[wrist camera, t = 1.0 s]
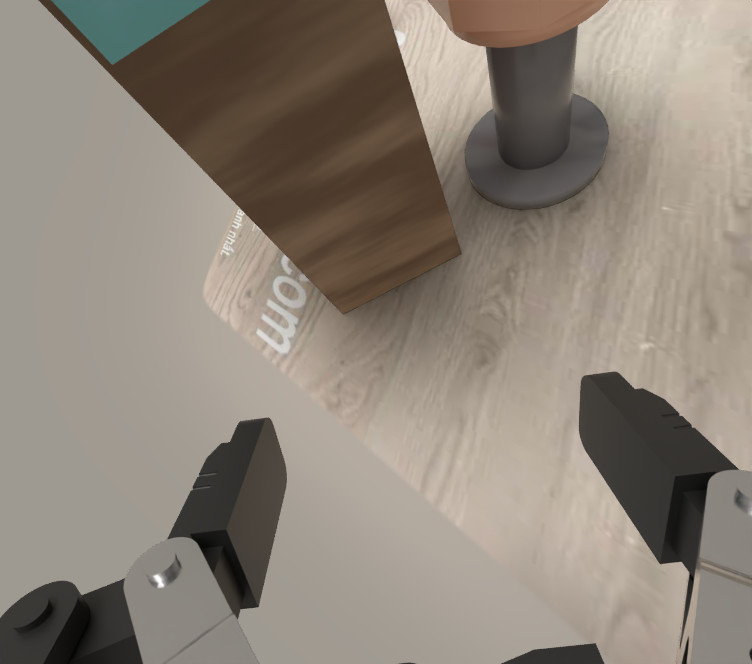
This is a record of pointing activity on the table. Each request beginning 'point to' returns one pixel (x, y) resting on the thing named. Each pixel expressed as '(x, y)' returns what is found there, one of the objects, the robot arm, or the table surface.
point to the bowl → (530, 101)
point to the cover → (124, 21)
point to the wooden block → (302, 133)
